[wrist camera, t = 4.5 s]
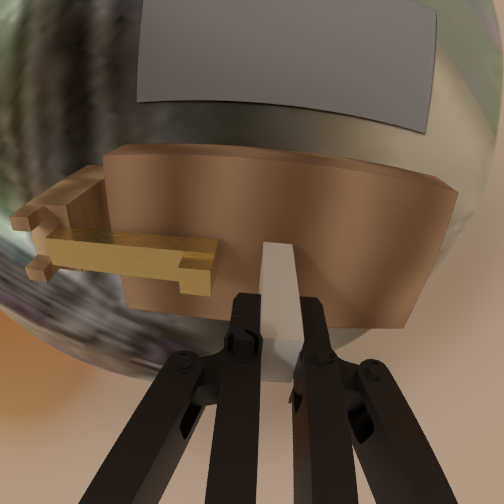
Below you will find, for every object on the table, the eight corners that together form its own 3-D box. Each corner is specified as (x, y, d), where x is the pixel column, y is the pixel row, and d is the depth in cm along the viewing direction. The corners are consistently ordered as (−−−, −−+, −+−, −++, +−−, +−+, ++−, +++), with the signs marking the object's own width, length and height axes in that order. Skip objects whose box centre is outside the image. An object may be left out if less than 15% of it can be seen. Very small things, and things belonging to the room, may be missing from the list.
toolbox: (96, 226, 27) (34, 294, 17) (86, 150, 22) (3, 195, 13) (374, 250, 27) (416, 334, 17) (395, 170, 22) (465, 230, 13)
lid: (145, 275, 23) (127, 307, 20) (131, 141, 17) (102, 155, 14) (388, 295, 23) (402, 328, 20) (428, 172, 17) (458, 192, 14)
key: (63, 252, 17) (43, 275, 15) (57, 227, 16) (34, 247, 14) (218, 269, 17) (210, 299, 15) (218, 239, 16) (210, 267, 14)
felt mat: (138, 102, 20) (136, 102, 20) (148, -23, 14) (147, -24, 14) (423, 132, 20) (424, 133, 20) (434, 11, 14) (435, 11, 14)
